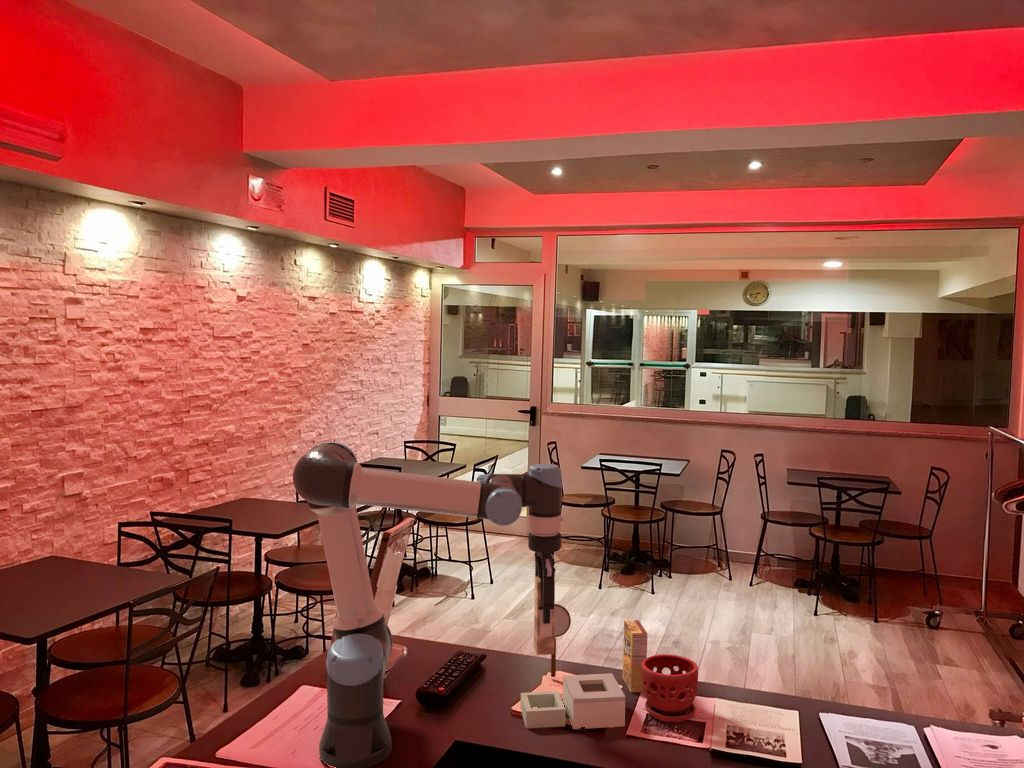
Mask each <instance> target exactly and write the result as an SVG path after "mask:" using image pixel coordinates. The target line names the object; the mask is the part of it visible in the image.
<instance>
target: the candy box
mask: <svg viewBox="0 0 1024 768" xmlns="http://www.w3.org/2000/svg"><path fill="white" fill-rule="evenodd" d="M623 622H624V623H623V625H624V626H623V648H622V649H623V650H622V651H623V653H622V678H623V681H624V683H625V684H626V687H627V689H628V690H629V692H630V693H632V694H633V693H644V690H643V685H642V675H641V665H642V662H643V660H644V659H646V658H648V657H647V656H648V655H647V654H648V653H647V652H648V632H647V631H646V629H645V628H644V626H643V625H642V622H640V620H639V619H625V620H624V621H623Z"/></svg>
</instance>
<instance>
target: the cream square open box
mask: <svg viewBox="0 0 1024 768" xmlns="http://www.w3.org/2000/svg"><path fill="white" fill-rule="evenodd" d="M533 707H539V708H533ZM521 709H522V712H521V715H522V719H523V723H524V726H525V729H541V728H558V727H559V728H560V727H566V709H565V707H564V704H563V698H561V695H560V692H559V690H553V691H551V690H549V691H533V692H531V691H529V692H520V710H521Z"/></svg>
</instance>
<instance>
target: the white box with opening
mask: <svg viewBox="0 0 1024 768" xmlns="http://www.w3.org/2000/svg"><path fill="white" fill-rule="evenodd" d="M562 677H563V678H562V702H563V703H564V705H565V708H566V710H565V712H566V711H567V713H568V715H567V717H568V716H569V718H570V720H571V723H572V725H571V728H572V729H573V730H582V729H581V727H585V729H597V728H598V729H601V728H603V729H604V728H619V727H625V726H626V725H625V724H626V695H625V693H624V692H623V689H622V688H621V686H620V684H619V683H618V681H617V680H616V677H614V674H613V673H611V672H610V673H592V674H571V675H567V674H566V675H563V676H562ZM597 690H601V692H583V691H597ZM567 713H566V714H567ZM569 718H568V719H569ZM570 720H569V721H570ZM571 723H570V724H571ZM579 728H580V729H579Z"/></svg>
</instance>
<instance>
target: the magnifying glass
mask: <svg viewBox="0 0 1024 768" xmlns="http://www.w3.org/2000/svg"><path fill="white" fill-rule="evenodd" d="M571 622H572V619H571V614H570V612H569V611H568V609H566V607H565V606H563V605H561V604H558V603H555V619H554V654H550V677H551V678H552V677H556V667H557V663H556V661H557V656H556V655H557V638H558V637H561V636H563V635H565V634H566V633H567V632H568V630H569V629H570V627H571V624H572V623H571Z"/></svg>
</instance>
